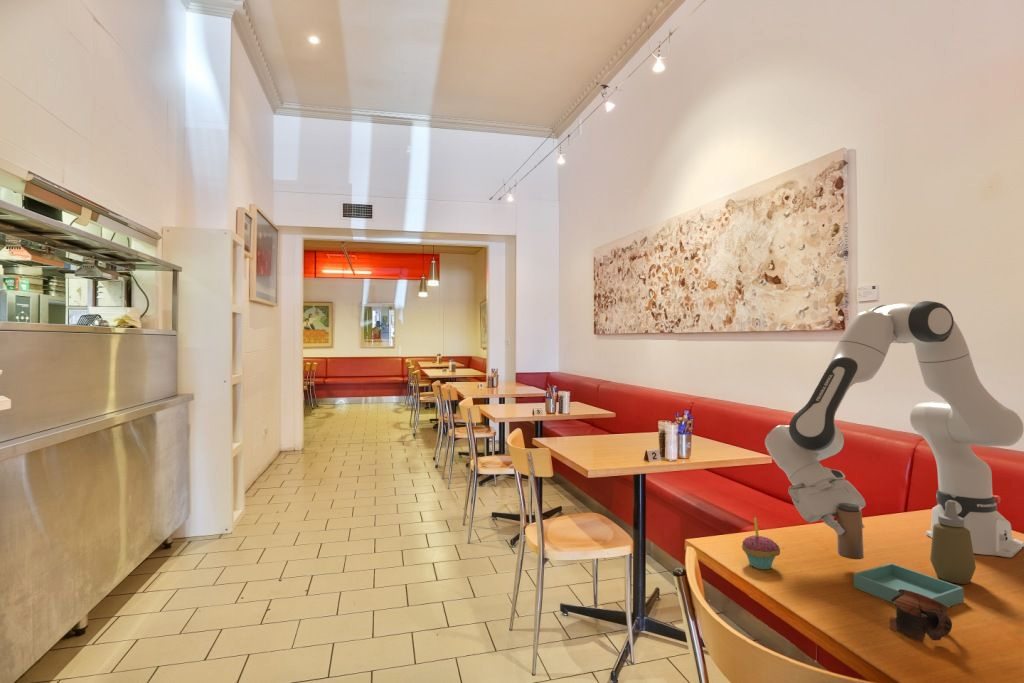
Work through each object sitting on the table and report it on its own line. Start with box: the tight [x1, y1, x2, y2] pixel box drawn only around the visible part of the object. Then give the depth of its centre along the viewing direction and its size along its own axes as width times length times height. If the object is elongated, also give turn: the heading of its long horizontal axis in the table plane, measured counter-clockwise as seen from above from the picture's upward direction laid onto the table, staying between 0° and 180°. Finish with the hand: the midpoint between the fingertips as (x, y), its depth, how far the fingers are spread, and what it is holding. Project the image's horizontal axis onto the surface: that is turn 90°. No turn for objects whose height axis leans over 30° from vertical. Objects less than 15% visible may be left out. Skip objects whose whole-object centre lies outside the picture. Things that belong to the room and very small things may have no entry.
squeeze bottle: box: [929, 501, 977, 585], centre depth 118 cm, size 8×8×18 cm
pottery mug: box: [889, 589, 953, 643], centre depth 95 cm, size 12×10×8 cm
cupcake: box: [741, 514, 781, 570], centre depth 126 cm, size 9×8×12 cm
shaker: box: [836, 503, 865, 560], centre depth 123 cm, size 5×5×12 cm
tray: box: [852, 562, 965, 617], centre depth 110 cm, size 14×14×3 cm
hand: (852, 531), depth 122 cm, fingers closed on shaker, 5 cm apart
